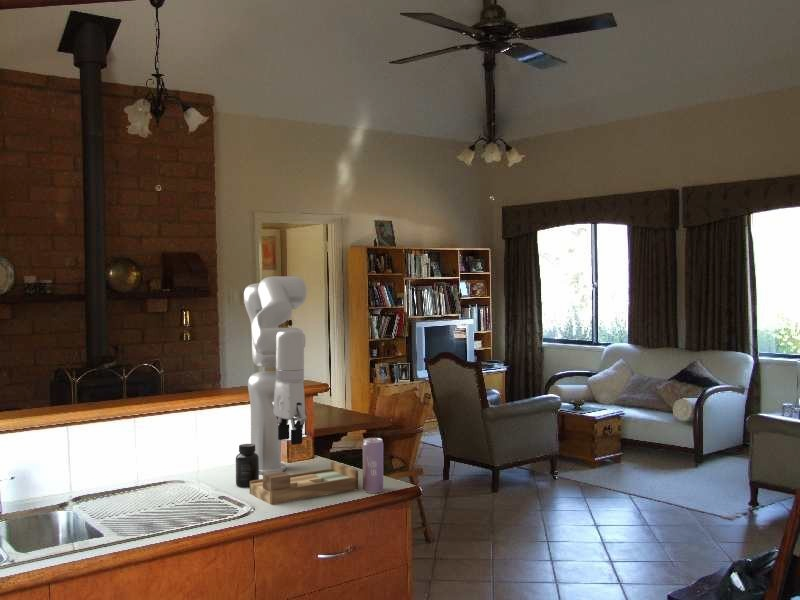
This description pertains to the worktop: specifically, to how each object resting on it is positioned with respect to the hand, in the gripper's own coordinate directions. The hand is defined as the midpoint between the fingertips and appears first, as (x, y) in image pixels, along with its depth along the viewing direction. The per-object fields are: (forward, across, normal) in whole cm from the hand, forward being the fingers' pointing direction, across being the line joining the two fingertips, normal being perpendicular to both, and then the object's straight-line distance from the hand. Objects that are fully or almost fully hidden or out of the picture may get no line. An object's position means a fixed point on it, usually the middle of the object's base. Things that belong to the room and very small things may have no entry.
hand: (290, 441), depth 221 cm
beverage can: (+18, 0, +27) cm, 32 cm away
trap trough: (+18, -11, +10) cm, 23 cm away
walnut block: (+15, -8, 0) cm, 17 cm away
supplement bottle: (+18, -27, 0) cm, 32 cm away
